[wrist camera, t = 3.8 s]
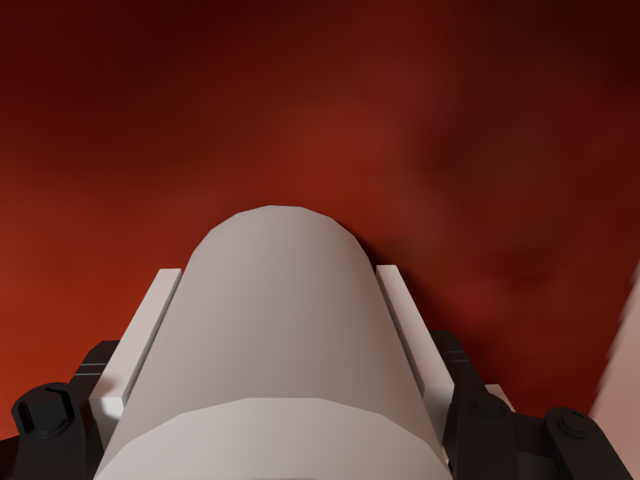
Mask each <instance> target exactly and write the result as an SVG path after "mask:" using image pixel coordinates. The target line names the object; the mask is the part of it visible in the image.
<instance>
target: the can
mask: <svg viewBox="0 0 640 480" xmlns="http://www.w3.org/2000/svg"><path fill="white" fill-rule="evenodd" d="M93 480H453V478H452V475H451V473H450V470H449V468H448V465H447V462H446V460H445V457H444V454H443V452H442V449H441V447H440V444H439V441H438V439H437V436H436V434H435V431H434V428H433V426H432V423H431V420H430V418H429V415H428V413H427V410H426V407H425V405H424V402H423V400H422V397H421V394H420V392H419V389H418V386H417V384H416V381H415V379H414V376H413V373H412V371H411V368H410V366H409V363H408V360H407V358H406V355H405V352H404V350H403V347H402V345H401V342H400V339H399V337H398V334H397V332H396V329H395V326H394V324H393V321H392V318H391V316H390V313H389V311H388V308H387V305H386V303H385V300H384V298H383V295H382V292H381V290H380V287H379V284H378V282H377V279H376V277H375V274H374V271H373V269H372V266H371V264H370V261H369V259H368V257H367V255H366V254H365V252H364V251H363V249H362V248H361V246H360V245H359V243H358V241H357V240H356V238H355V237H354V236H353V235H352V234H351V233H350V232H348V231H347V230H346V229H344V228H343V227H342V226H341V225H339V224H338V223H337V222H335V221H334V220H333V219H332V218H330V217H327V216H324V215H322V214H319V213H316V212H313V211H311V210H308V209H305V208H302V207H290V206H265V207H261V208H257V209H253V210H249V211H245V212H241V213H237V214H236V215H234V216H233V217H231V218H229V219H228V220H226V221H224V222H223V223H221V224H220V225H218V226H216V227H215V228H213V229H212V230H211V231H210V232H209V233H208V234H207V236H206V237H205V238H204V239H203V241H202V242H201V243H200V244H199V246H198V247H197V248H196V249H195V251H194V252H193V254H192V256H191V258H190V260H189V263H188V265H187V267H186V270H185V272H184V274H183V276H182V279H181V281H180V283H179V285H178V288H177V290H176V292H175V295H174V297H173V299H172V301H171V304H170V306H169V308H168V310H167V313H166V315H165V317H164V320H163V322H162V324H161V326H160V329H159V331H158V333H157V335H156V338H155V340H154V342H153V345H152V347H151V349H150V351H149V354H148V356H147V358H146V360H145V363H144V365H143V367H142V370H141V372H140V374H139V376H138V379H137V381H136V383H135V385H134V388H133V390H132V392H131V395H130V397H129V399H128V401H127V404H126V406H125V408H124V410H123V413H122V415H121V417H120V420H119V422H118V424H117V426H116V429H115V431H114V433H113V435H112V438H111V440H110V442H109V445H108V447H107V449H106V451H105V454H104V456H103V458H102V460H101V463H100V465H99V467H98V470H97V472H96V474H95V476H94V479H93Z"/></svg>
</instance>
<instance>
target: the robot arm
mask: <svg viewBox="0 0 640 480" xmlns="http://www.w3.org/2000/svg"><path fill="white" fill-rule="evenodd" d="M181 279H182V274H181V269H160V270H159V272H158V274H157V276H156V278H155V279H154V281H153V283H152V285H151V287H150V288H149V290H148V292H147V294H146V296H145V297H144V299H143V301H142V303H141V305H140V307H139V308H138V310H137V312H136V314H135V316H134V317H133V319H132V321H131V323H130V325H129V326H128V328H127V330H126V332H125V334H124V335H123V337H122V339H121V340H114V341H102V342H100V343H99V344H98V345H97V346H95V347H94V348H93V349H92V350H90V351H89V352H88V354H87V356H86V357H85V359H84V360H83V362H82V363H81V366H80V367H79V368H78V370H77V371H76V373H75V376H73V378H72V379H71V381H70V382H69V384H67V383H61V382H55V383H48V384H44V385H41V386H38V387H36V388H33V389H32V390H30V391H28V392H27V393H25V394H23V395H22V396H21V397H20V398H19V399H18V400H17V401H16V402H15V403H14V405H13V407H12V409H11V412H12V415H13V418H14V421H15V423H16V426H17V429H18V432H19V434H20V435H18V436H15V437H12V438H8V439H5V440H1V441H0V480H93V479H94V476H95V474H96V472H97V470H98V467H99V465H100V463H101V460H102V458H103V456H104V454H105V451H106V449H107V447H108V445H109V442H110V440H111V438H112V435H113V433H114V431H115V429H116V426H117V424H118V422H119V420H120V417H121V415H122V413H123V410H124V408H125V406H126V404H127V401H128V399H129V397H130V395H131V392H132V390H133V388H134V385H135V383H136V381H137V379H138V376H139V374H140V372H141V370H142V367H143V365H144V363H145V360H146V358H147V356H148V354H149V351H150V349H151V347H152V345H153V342H154V340H155V338H156V335H157V333H158V331H159V329H160V326H161V324H162V322H163V320H164V317H165V315H166V313H167V310H168V308H169V306H170V304H171V301H172V299H173V297H174V295H175V292H176V290H177V288H178V285H179V283H180V281H181ZM376 279H377V282H378V284H379V287H380V290H381V292H382V295H383V298H384V300H385V303H386V305H387V308H388V311H389V313H390V316H391V318H392V321H393V324H394V326H395V329H396V332H397V334H398V337H399V339H400V342H401V345H402V347H403V350H404V352H405V355H406V358H407V360H408V363H409V366H410V368H411V371H412V373H413V376H414V379H415V381H416V384H417V386H418V389H419V392H420V394H421V397H422V400H423V402H424V405H425V407H426V410H427V413H428V415H429V418H430V420H431V423H432V426H433V428H434V431H435V434H436V436H437V439H438V441H439V444H440V447H441V449H443V447H444V449H445V452H446V454H447V457H448V459H449V460H448V468H449V470H450V473H451V475H452V478H453V480H633V478H632V477H631V475H630V473H629V472H628V471H627V469H626V467H625V466H624V464H623V463H622V461H621V459H620V458H619V456H618V455H617V453H616V452H615V450H614V449H613V447H612V445H611V444H610V442H609V441H608V439H607V438H606V436H605V434H604V433H603V431H602V430H601V428H600V427H599V426H598V425H597V424H596V423H595V421H594V420H592V419H591V418H589V417H588V416H586V415H585V414H583V413H581V412H579V411H576V410H574V409H570V408H565V407H556V408H552V409H550V410H549V411H547V413H546V416H545V419H541V418H537V417H532V416H527V415H523V414H519V413H516V412H513V411H511V409H510V407H509V406H508V405H507V404H506V403H505V401H504V400H502V399H501V398H499V397H498V396H496V395H494V394H491V393H489V392H488V390H487V388H486V387H485V385H484V383H483V381H482V380H481V378H480V376H479V374H478V373H477V371H476V369H475V368H474V366H473V364H472V362H471V361H470V359H469V357H468V355H467V354H466V352H465V351H464V349H463V347H462V345H461V343H460V342H459V340H458V339H457V338H456V337H455V336H453V335H452V334H451V333H450V332H448V331H447V330H432V331H428V330H427V328H426V326H425V324H424V322H423V320H422V318H421V316H420V314H419V312H418V310H417V308H416V305H415V303H414V301H413V299H412V297H411V295H410V293H409V291H408V289H407V287H406V285H405V283H404V281H403V279H402V277H401V275H400V273H399V271H398V269H397V267H396V265H376Z"/></svg>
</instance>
